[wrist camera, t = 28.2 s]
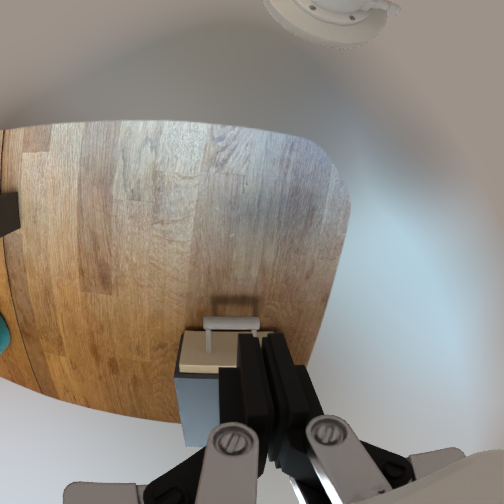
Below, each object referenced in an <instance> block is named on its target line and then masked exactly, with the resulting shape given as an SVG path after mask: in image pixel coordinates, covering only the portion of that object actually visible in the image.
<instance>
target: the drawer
mask: <svg viewBox="0 0 504 504" xmlns="http://www.w3.org/2000/svg"><path fill="white" fill-rule="evenodd" d="M203 328H204V329H206V331H185V332H184V338H183V344H182V350H181V356H180V362H179V368H180V372H187V373H188V374H206V373H218V367H236V364H237V341H238V333H253V337H259V341H260V346H261V343H262V337H267V334H268V333H274V332H273V331H270V332H257V329H259V328H260V319H259V317H219V316H204V318H203ZM211 329H239V330H247V329H251V332H213V331H211Z"/></svg>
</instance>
